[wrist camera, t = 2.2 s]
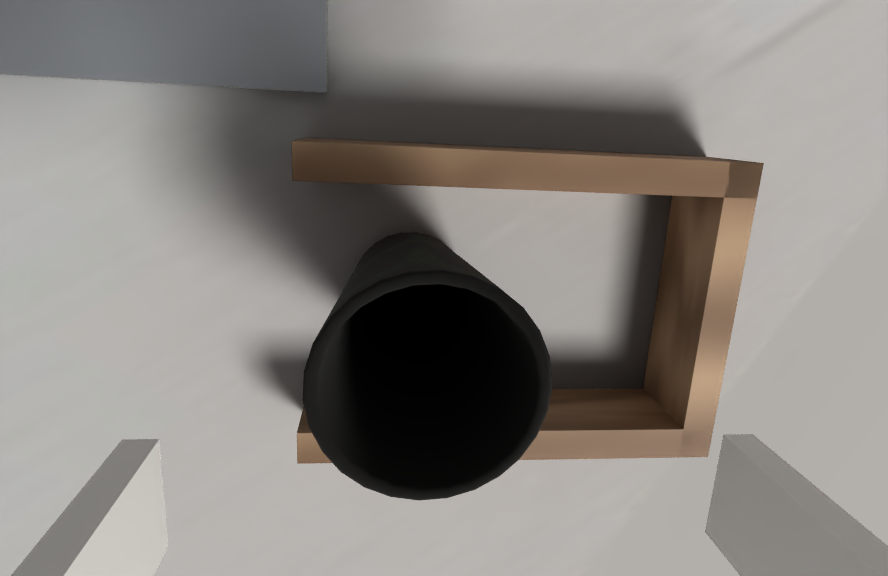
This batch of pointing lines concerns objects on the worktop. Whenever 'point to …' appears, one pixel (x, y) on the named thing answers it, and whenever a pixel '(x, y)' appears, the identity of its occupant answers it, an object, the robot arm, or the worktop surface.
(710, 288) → the wooden frame
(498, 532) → the worktop surface
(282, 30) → the coaster
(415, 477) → the cup
